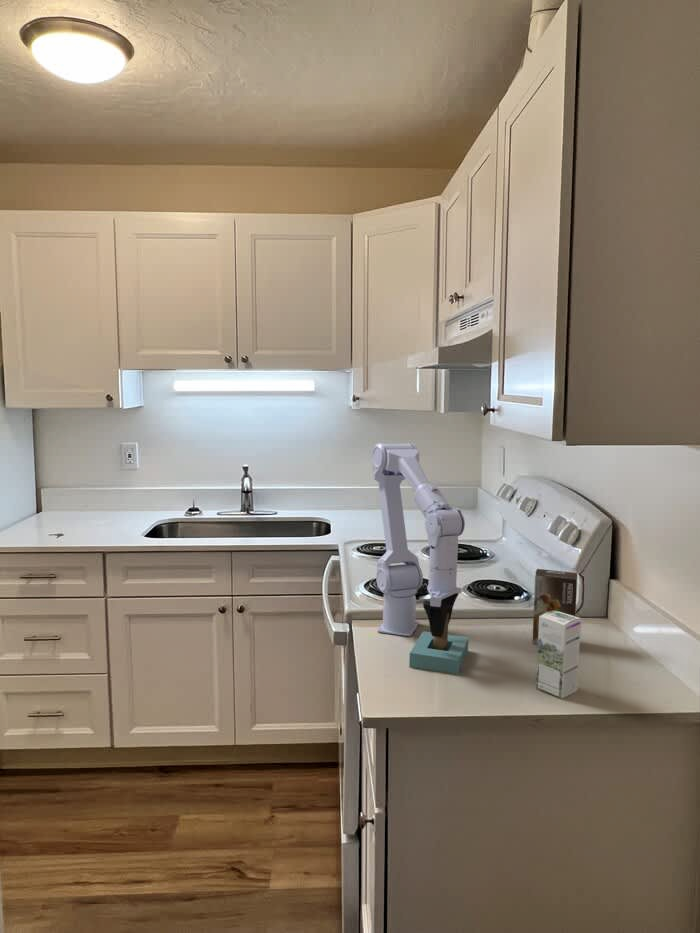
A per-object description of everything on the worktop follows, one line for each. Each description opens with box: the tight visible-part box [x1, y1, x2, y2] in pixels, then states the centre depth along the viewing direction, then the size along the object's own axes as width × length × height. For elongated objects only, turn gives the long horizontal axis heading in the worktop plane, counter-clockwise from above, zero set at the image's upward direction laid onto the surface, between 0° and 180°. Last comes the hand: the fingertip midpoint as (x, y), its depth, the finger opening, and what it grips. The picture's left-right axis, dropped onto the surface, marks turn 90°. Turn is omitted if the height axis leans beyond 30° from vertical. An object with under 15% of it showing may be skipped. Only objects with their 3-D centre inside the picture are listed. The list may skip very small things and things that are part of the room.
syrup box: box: [535, 611, 582, 700], centre depth 120 cm, size 6×6×14 cm
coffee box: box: [531, 568, 578, 646], centre depth 144 cm, size 9×6×16 cm
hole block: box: [408, 630, 470, 676], centre depth 134 cm, size 13×10×3 cm
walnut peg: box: [433, 613, 449, 651], centre depth 134 cm, size 3×3×10 cm
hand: (440, 629), depth 134 cm, fingers open, 7 cm apart
